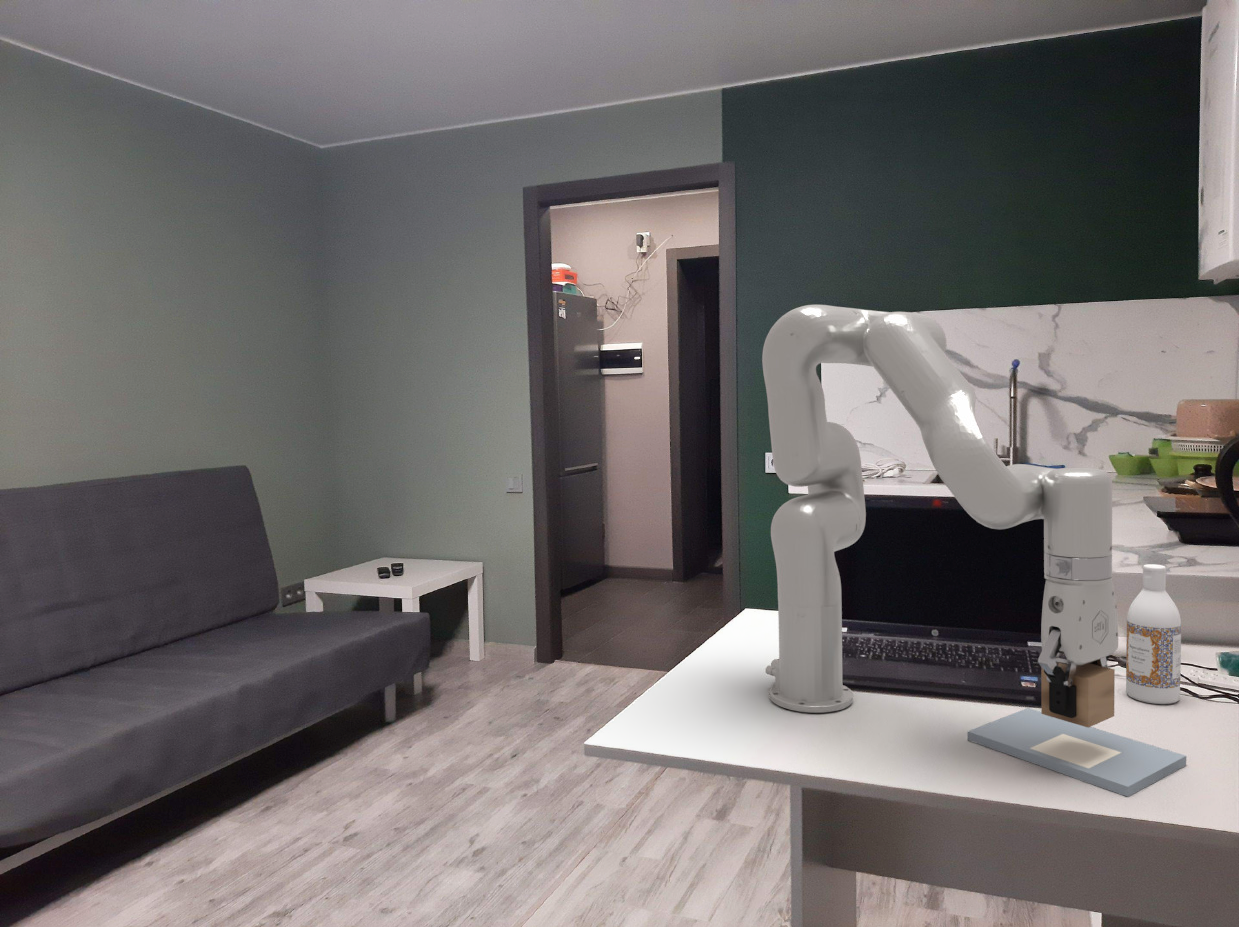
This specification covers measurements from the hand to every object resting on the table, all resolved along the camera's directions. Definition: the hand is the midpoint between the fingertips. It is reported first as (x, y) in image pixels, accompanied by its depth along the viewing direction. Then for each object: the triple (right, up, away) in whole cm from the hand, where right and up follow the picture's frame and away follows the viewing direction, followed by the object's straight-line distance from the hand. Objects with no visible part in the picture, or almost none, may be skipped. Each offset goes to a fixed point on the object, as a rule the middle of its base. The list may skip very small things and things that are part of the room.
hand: (1077, 706), depth 112 cm
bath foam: (+22, -5, +21) cm, 31 cm away
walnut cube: (0, -1, 0) cm, 1 cm away
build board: (+1, -7, +3) cm, 7 cm away
